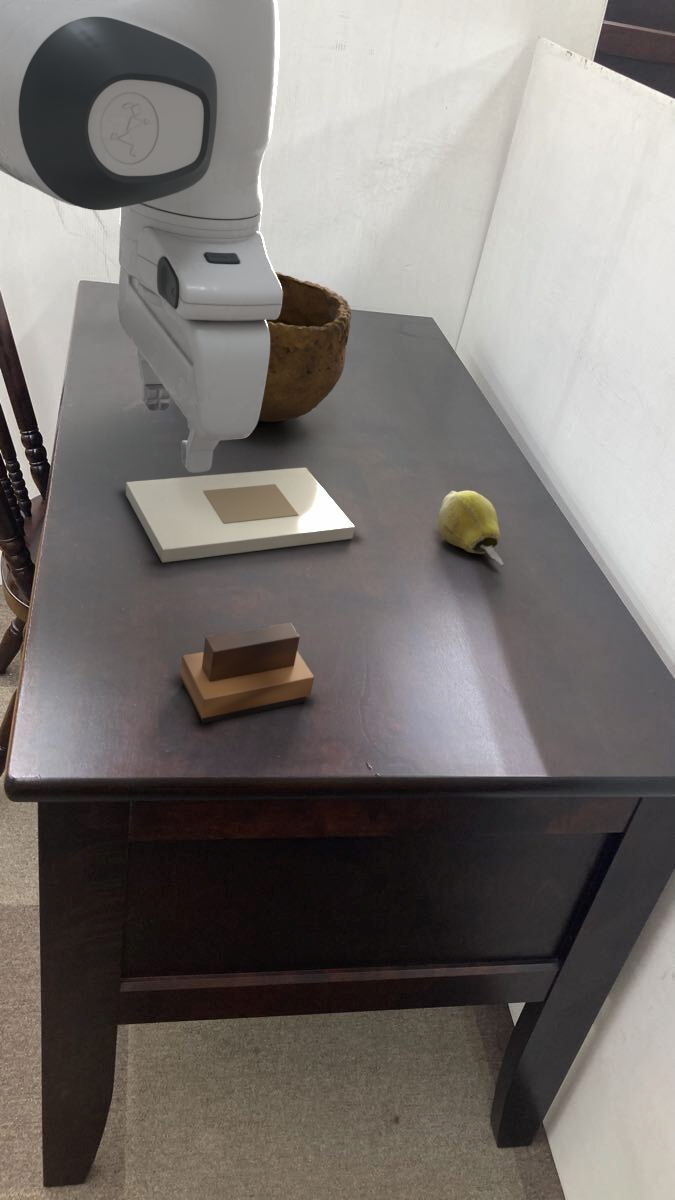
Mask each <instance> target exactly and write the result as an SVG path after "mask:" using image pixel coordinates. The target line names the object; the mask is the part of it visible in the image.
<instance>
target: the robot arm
mask: <svg viewBox="0 0 675 1200" xmlns="http://www.w3.org/2000/svg"><path fill="white" fill-rule="evenodd" d="M279 20H280V18H279V8H278V0H0V171H1V173H4V174H5V175H8V176H10V177H12V178H13V179H15V180H17V181H18V182H21V183H24V185H28V186H29V187H32V188H34V189H35V190H37V191H38V192H41V193H42V194H45V195H46V196H49V197H51V198H53V199H55V200H56V201H59V202H61V203H64V204H67V205H69V206H73V207H77V208H82V209H86V210H92V211H108V210H114V209H115V210H116V209H119V210H120V211H119V240H118V241H119V243H118V246H119V248H118V263H119V266H120V268H119V278H118V289H117V290H118V291H117V313H118V319H119V323H120V326H121V327H122V329H123V330H124V331H125V333H126V334H127V336H128V337H129V338H130V340H131V341H132V343H133V344H134V346H135V347H136V349H137V354H136V355H137V360H138V366H139V371H140V377H141V382H142V383H141V385H142V386H141V400H142V402H143V404H145V406H146V407H147V409H148V410H149V411H152V412H156V411H166V410H167V409H169V407H170V403H171V401H170V398H172V401H174V403H175V404H176V406H177V407H178V409H179V410H180V411H181V413H182V414H183V416H184V417H185V419H186V420H187V428H188V429H189V434H188V437H187V440H182V441H181V442H182V443H181V455H180V460H181V462H182V463H183V465H184V466H185V469H186V470H187V471H188V472H189V473H191V474H197V473H206V472H208V471H210V470H211V468H212V466H213V465H212V464H213V457H214V450H215V449H216V447H218V444H219V442H220V441H230V440H231V441H232V440H240V439H246V438H248V437H249V436H250V435H251V434H252V433H253V431H254V430H255V428H256V427H257V425H258V423H259V421H258V419H259V416H260V411H261V406H262V401H263V395H264V389H265V384H266V377H267V371H268V364H269V356H270V333H269V328H268V325H267V322H266V320H272V319H277V318H278V317H279V315H280V312H281V307H282V298H283V292H282V287H281V285H280V282H279V280H278V278H277V276H276V274H275V272H276V271H275V270H274V268H273V266H272V263H271V262H270V261H271V260H270V259H269V256H268V252H267V249H266V245H265V240H264V236H263V234H262V233H261V232H260V231H261V225H262V223H261V222H262V214H263V208H264V207H263V205H264V203H263V202H264V200H263V192H262V187H261V186H262V185H261V169H262V163H263V160H264V156H265V153H266V150H267V148H268V146H269V143H270V140H271V137H272V132H273V125H274V116H275V106H276V98H277V90H278V89H277V87H278V76H279V60H280V21H279Z"/></svg>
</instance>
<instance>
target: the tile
mask: <svg viewBox="0 0 675 1200" xmlns="http://www.w3.org/2000/svg"><path fill="white" fill-rule="evenodd" d="M125 496H126V498H127V499H128V501H129V503H130V505H131V507H132V509H133V511H134V513H135V514H136V517H137V519H138V520H139V522H140V524H141V526H142V527H143V529H144V532H145V533H146V535H147V537H148V539H149V540H150V542H151V544H152V547H153V549H154V551H155V552H156V553H157V556H158V557H159V560H160V562H161V563H171V562H179V561H187V560H194V559H203V558H210V557H211V558H212V557H219V556H225V555H226V556H227V555H234V554H243V553H251V552H256V551H259V552H260V551H266V550H275V549H282V548H289V547H296V546H305V545H313V544H321V543H330V542H337V541H345V540H352V539H353V537H354V533H355V529H356V527H355V524H353V523H352V522H351V520H350V519H349V518H348V516H347V515H346V514H345V513H344V512H343V510H342V509H341V508H340V506H338V505H337V503H336V502H335V501H334V499H333V498H332V497H331V496H330V495H329V494H328V492H327V491H326V490H325V489H324V487H323V486H322V485H321V483H319V482H318V480H317V479H316V478H315V477H314V476H313V474H312V473H311V472H310V471H309V469H308V468H307V467H294V468H281V469H270V470H269V469H268V470H257V471H245V472H233V473H221V474H209V475H196V476H195V475H194V476H184V477H173V478H161V479H148V480H138V481H137V480H136V481H126V483H125Z"/></svg>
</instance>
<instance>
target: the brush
mask: <svg viewBox="0 0 675 1200" xmlns="http://www.w3.org/2000/svg"><path fill="white" fill-rule="evenodd" d="M204 637H205V638H204V645H203V651H201V652H196V653H190V654H184V655H182V656H181V666H180V676H181V678H182V680H183V681H182V684H183V686H184V688H185V690H186V692H187V694H188V697H189V698H190V700H191V703H192V705H193V707H194V709H195V712H196V713H197V715H198V717H199V720H200V721H201V723H202V724H208V723H212V722H217V721H222V720H227V719H229V718H230V719H231V718H235V717H236V718H237V717H241V716H245V715H250V714H255V713H258V712H263V711H268V710H272V709H277V708H283V707H287V706H292V705H296V704H301V703H305V702H306V700H307V697H310V696H311V693H312V689H313V683H314V679H315V676H314V675H313V673H312V671H311V670H310V669H309V667H308V665H307V663H306V662H305V660H304V659H303V657H302V656H301V654H300V652H299V651H298V649H299V643H300V638H301V636H300V634H299V633H298V631H297V630H296V629H295V627H294V625H293V624H292V622H285V623H279V624H272V625H268V626H262V627H255V628H249V629H245V630H244V629H243V630H238V631H232V632H226V633H221V634H215V635H208V636H204Z"/></svg>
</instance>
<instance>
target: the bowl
mask: <svg viewBox="0 0 675 1200" xmlns="http://www.w3.org/2000/svg"><path fill="white" fill-rule="evenodd" d="M274 272H275V274H276V276H277V278H278V280H279V282H280V285H281V287H282V292H283V298H282V307H281V312H280V315H279V317H278V318H277V319H272V320H266V322H267V325H268V328H269V333H270V356H269V364H268V371H267V377H266V384H265V389H264V395H263V401H262V406H261V411H260V416H259V419H258V422H259V421H260V422H280V421H288V420H293V419H297V418H300V417H301V416H304V415H307V414H308V413H310V412H311V411H312V410H313V409H315V408H317V406H318V405H319V404H321V402H322V401H323V400H324V399H326V397H328V396H329V394H330V393H331V392H332V391H333V389H334V388H335V386H336V385H337V383H338V382H339V381H340V378H341V376H342V374H343V372H344V368H345V364H346V359H347V358H346V357H347V348H346V347H347V345H348V340H349V333H350V329H351V320H352V311H351V309H352V308H351V306H350V304H349V303H348V301H347V300H346V299H345V298H344V297H343V296H342V295H339V294H338V293H337V292H336V291H333V290H331V289H330V288H328V287H327V286H321V285H320V284H319V283H318V282H314V283H313V282H311V281H310V280H300V279H298V278H295V277H293V276H290V275H286V274H283V273H282V272H277V271H274Z"/></svg>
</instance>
